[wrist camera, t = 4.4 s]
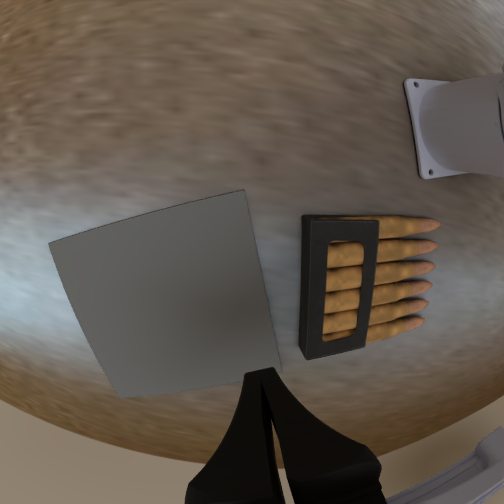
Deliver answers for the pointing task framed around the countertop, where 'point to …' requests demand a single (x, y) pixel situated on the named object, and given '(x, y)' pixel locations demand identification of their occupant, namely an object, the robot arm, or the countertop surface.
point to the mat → (171, 297)
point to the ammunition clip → (359, 280)
